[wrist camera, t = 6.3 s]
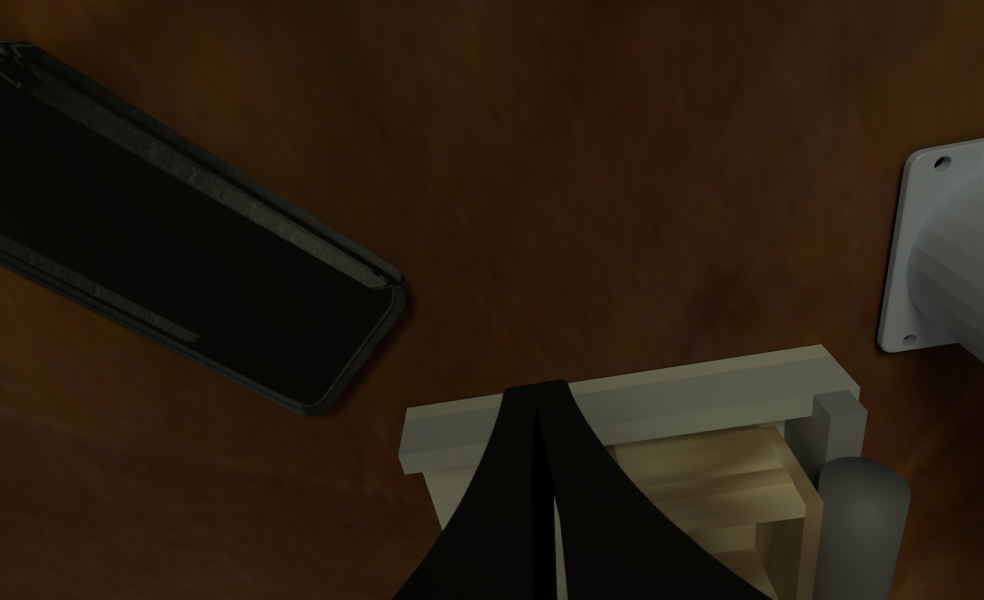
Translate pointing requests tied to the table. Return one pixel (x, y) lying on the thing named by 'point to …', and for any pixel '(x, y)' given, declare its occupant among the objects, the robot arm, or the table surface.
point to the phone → (180, 241)
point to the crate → (735, 501)
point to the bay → (704, 407)
